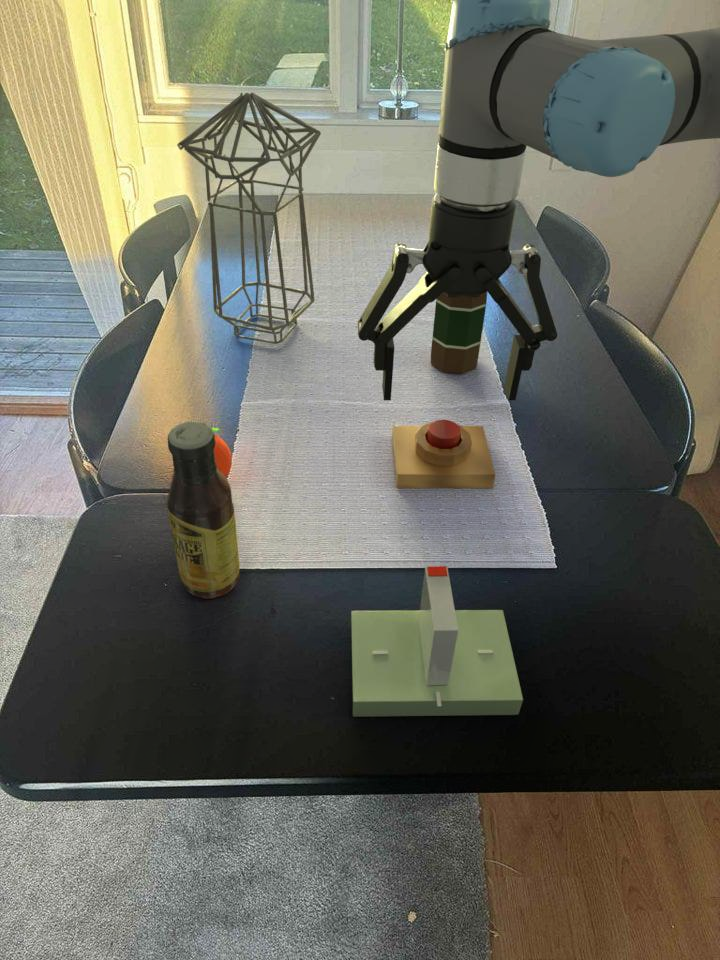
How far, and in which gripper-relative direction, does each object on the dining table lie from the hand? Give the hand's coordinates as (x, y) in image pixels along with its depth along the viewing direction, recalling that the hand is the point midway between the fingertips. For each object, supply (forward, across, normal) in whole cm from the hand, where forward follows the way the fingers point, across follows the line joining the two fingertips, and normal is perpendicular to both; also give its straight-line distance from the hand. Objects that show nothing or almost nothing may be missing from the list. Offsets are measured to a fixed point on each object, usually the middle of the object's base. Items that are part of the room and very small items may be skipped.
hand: (448, 393), depth 77 cm
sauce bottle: (+14, +26, +14) cm, 33 cm away
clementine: (+15, +28, -2) cm, 32 cm away
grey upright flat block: (+11, +4, +26) cm, 28 cm away
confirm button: (+11, -1, -5) cm, 12 cm away
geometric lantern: (+15, +23, -40) cm, 48 cm away
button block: (+14, -1, -5) cm, 15 cm away
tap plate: (+14, +4, +26) cm, 29 cm away
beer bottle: (+15, -6, -30) cm, 34 cm away
